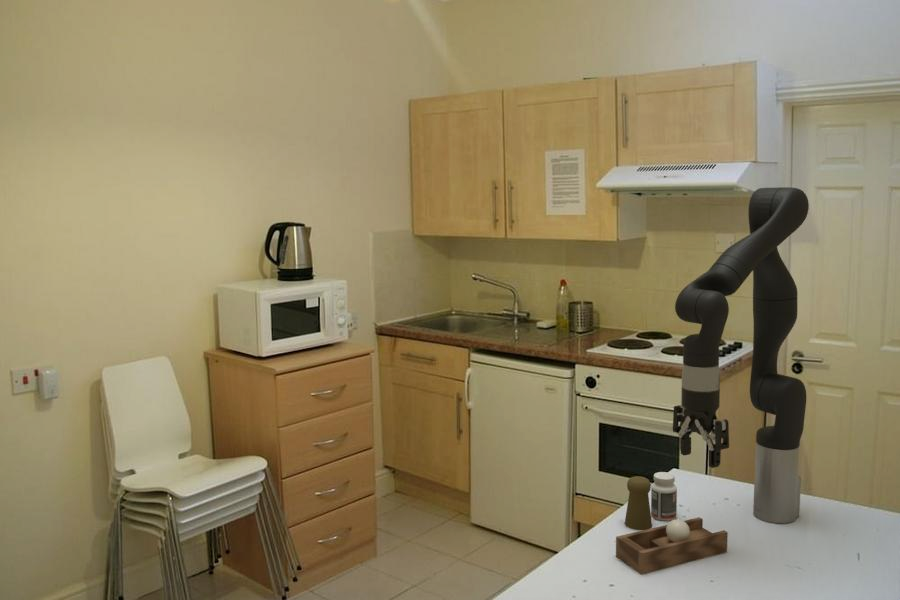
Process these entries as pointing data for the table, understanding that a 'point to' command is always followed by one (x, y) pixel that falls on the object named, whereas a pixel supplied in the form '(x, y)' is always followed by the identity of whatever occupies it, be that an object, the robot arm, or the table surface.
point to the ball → (677, 530)
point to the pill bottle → (664, 497)
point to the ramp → (668, 547)
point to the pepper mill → (638, 504)
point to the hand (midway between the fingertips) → (699, 460)
